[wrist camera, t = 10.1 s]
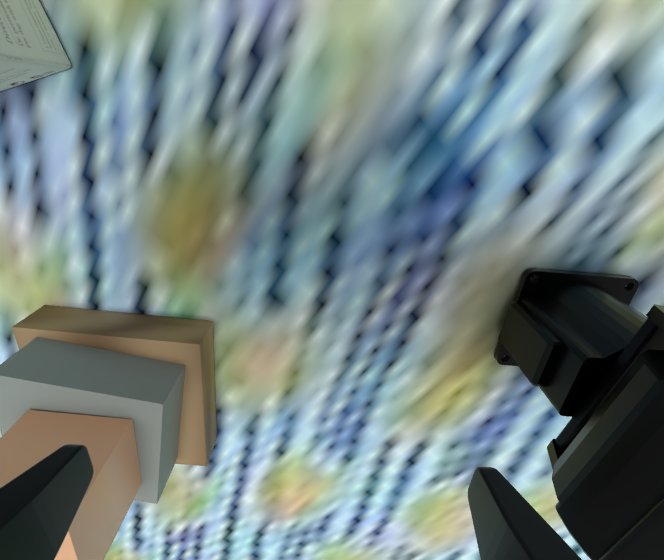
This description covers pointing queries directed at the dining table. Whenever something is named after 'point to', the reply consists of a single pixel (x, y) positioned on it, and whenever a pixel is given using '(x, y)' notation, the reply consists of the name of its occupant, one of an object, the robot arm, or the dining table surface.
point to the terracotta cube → (108, 478)
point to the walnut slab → (151, 342)
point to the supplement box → (27, 44)
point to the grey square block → (101, 397)
